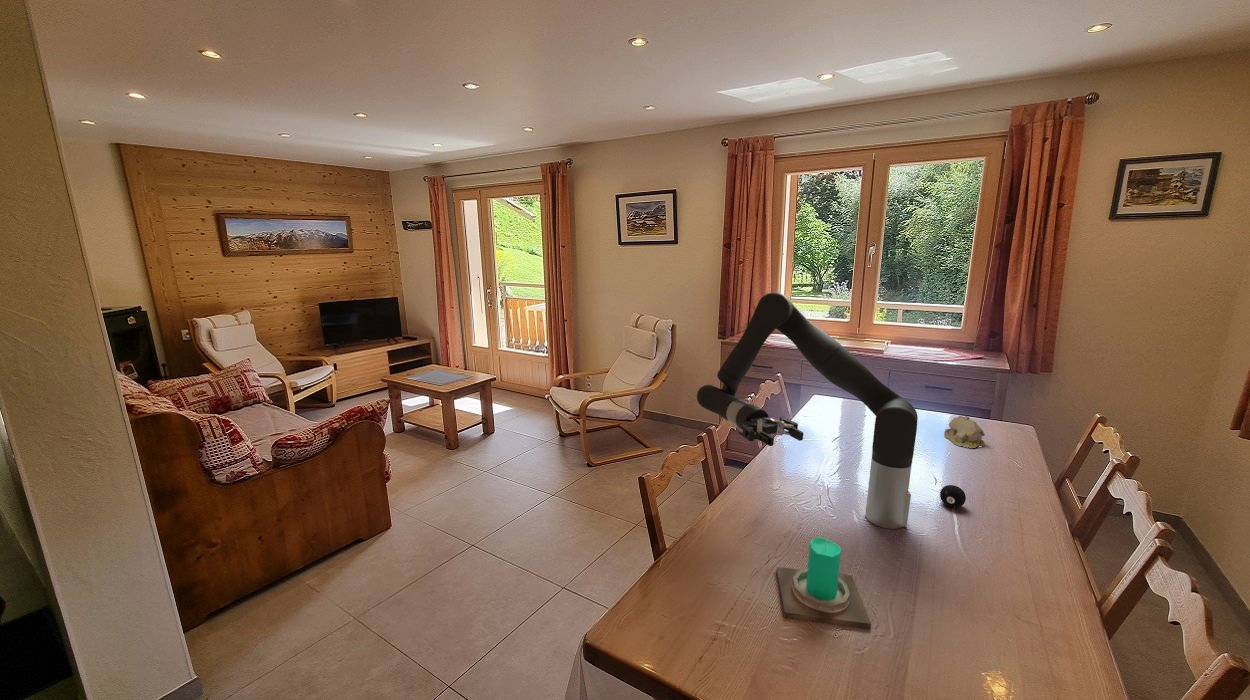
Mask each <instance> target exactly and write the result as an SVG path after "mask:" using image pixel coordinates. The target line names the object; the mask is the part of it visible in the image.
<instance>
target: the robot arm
mask: <svg viewBox="0 0 1250 700" xmlns="http://www.w3.org/2000/svg"><path fill="white" fill-rule="evenodd" d="M775 330H777V331H779V332H780V333H781V334H782V335H784V336H785V337H786V338H787V339H788V340H790V341H791V343H793V344H794V345H795V347H796V348H797V349H798V351H799V352H800V353H801V354H802V355H803V357H804V358H805V359H806V360H807V362H809V364H810V365H811V366H812V367H813V369H815V370H816V371H817V372H819V374H820V375H822V376H823V377H824V378H825V379H826V380H828V382H830V383H832V384H833V385H835V386H836V387H838V388H840V389H841V390H843V391H845V392H847V393H848V394H850V395H852V396H854V397H856V398H857V399H858V400H860V402H862V404H864V405H865V407H867V408H868V409H869V410H870V411H871V413H873V415H874V416H875V420H874V428H873V429H874V430H873V436H872V437H873V438H872V445H871V446H872V447H871V449H872V451H871V459H870V460H871V462H870V468H869V469H870V470H869V478H868V479H869V480H868V485H867V486H868V489H867V497H866V503H865V506H866V507H865V514H864V515H865V518H866V520H867V521H869V522H870V523H872V524H873V525H875V526H878V527H880V528H883V529H890V530H891V529H892V530H893V529H894V530H896V529H897V530H898V529H901V528H907V527H908V521H909V520H908V519H909V513H910V512H909V511H910V507H911V498H912V497H911V496H912V494H911V492H910V491H909V488H910V480H911V472H912V465H913V459H914V454H915V453H914V452H915V444H916V437H917V433H918V432H917V430H918V417H919V416H918V413H917V410H916V409H915V407H914V406H913V405H912V404H911V402H909V401H907V399H905V398H904V397H902V396H901V395H899V394H898V393H897V392H895V391H894V390H893V389H892V388H889V387H888V386H887V385H886V384H884V383H883V382H882V381H881V380H880V379H878V378H877V377H876V375H874V374H873V373H872V372H871V371H870V370H869V369H868V368H867V367H866V366H865V365H864V364H863V363H862V362H861V361H860V360H859V359H857V357H856V356H855V355H853V354H852V353H851V352H850V351H849V350H848V349H847V348H846V347H844V346H843V345H842V344H841V343H840V342H838V341H837V340H836V339H834V338H833V337H831V336H830V334H828V333H826V332H825V331H824V330H822V329H821V328H819V327H817V326H816V325H814V324H813V323H812V322H811V321H810V320H809V319H807V317H805V315H804V314H803V313H802V312H801V311H800V310H799V309H798V308H797V307H796V306H795V305H794V303H793V302H792V301H791V299H789V297H788V296H786V295H785V294H783V293H780V292H777V291H776V292H773V291H772V292H769V293H766V294H764V295H763V296H761V297H760V299H759V300H758V302H757V305H756V307H755V309H754V312H753V314H752V316H751V318H750V321H749V323H748V324H747V327H746V329H745V331H744V332H743V334H742V335H741V337H740V338H739V340H738V341H737V343H736V344H735V346H734V347H733V349H732V350H731V352H730V353H729V355H728V356H727V358H726V359H725V361H723V364H721V367H720V368H719V369H718V371H717V374H716V377H717V379H718V380H719V381H720V382H721V383H722V384H723V385H722V388H719V387H716V386H714V385H712V384H705V385H703V386H701V387H699V389H698V390H697V392H696V400H697V403H698V404H699V405H700V406H701V407H702V408H704V409H706V410H707V411H710V412H712V413H714V414H717V415H719V416H720V417H721V418H722V419H724V420H726V422H727V421H728V422H729V423H730V424H732V426H734V427H735V428H737V429H738V431H737V432H738V434H739V435H740V436H741V437H743V438H744V439H746V440H747V441H749V442H754V441H755V440H756V441H757V442H761V443H763V444H765V445H767V446H769V447H773V446H774V444H775V439H774V437H773V436H772V435H776V436H781V437H782V436H783V435H786V436H790V437H791V438H794V439H795V440H797V441H799V442H801V441H803V440H804V432H803V431H802V430H800V429H798V428H799V423H797V422H796V421H793V420H791V419H789V418H786V417H784V416H779V419H778V420H777V419H774V418H772V417H770V416H769V415H768V412H767V411H765V410H764V409H763V408H761V407H759V406H757V405H755V404H753V403H751V402H749V401H746V400H744V399H741V398H739V397H738V396H737V397H736V394H737V391H738V388H739V385H740V384H741V382H742V381H743V379H744V377H745V376H746V374H747V373H748V372H749V370H750V368H751V367H752V365H753V363H754V361H755V360H756V358H757V356H758V354H759V353H760V350H761V349H762V347H763V345H764V343H766V341H767V339H768V338H769V337H770V336H771V334H772V333H773V332H774V331H775ZM778 427H780V428H779V431H778Z"/></svg>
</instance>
